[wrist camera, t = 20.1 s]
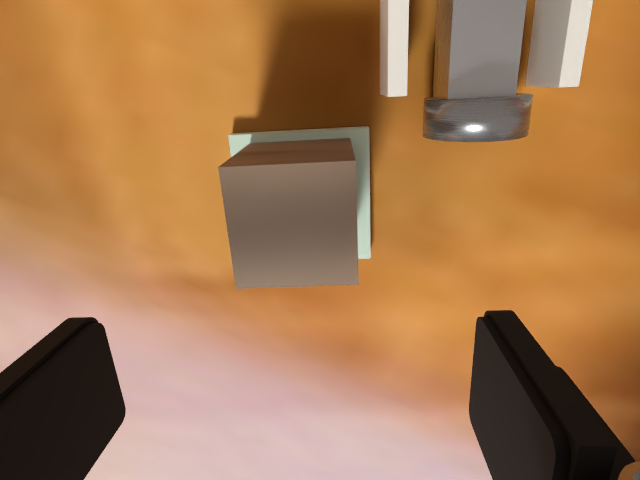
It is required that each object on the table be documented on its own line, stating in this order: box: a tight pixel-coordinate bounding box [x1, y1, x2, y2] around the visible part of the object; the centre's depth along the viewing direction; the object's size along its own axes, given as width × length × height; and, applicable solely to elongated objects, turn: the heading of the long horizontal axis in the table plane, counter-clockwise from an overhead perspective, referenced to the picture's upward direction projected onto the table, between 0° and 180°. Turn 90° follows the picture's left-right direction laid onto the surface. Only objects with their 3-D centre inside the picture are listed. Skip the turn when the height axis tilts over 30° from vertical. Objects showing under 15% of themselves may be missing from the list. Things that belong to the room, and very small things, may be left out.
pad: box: [228, 126, 371, 259], centre depth 22 cm, size 7×7×1 cm
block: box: [218, 138, 359, 289], centre depth 18 cm, size 5×5×6 cm
